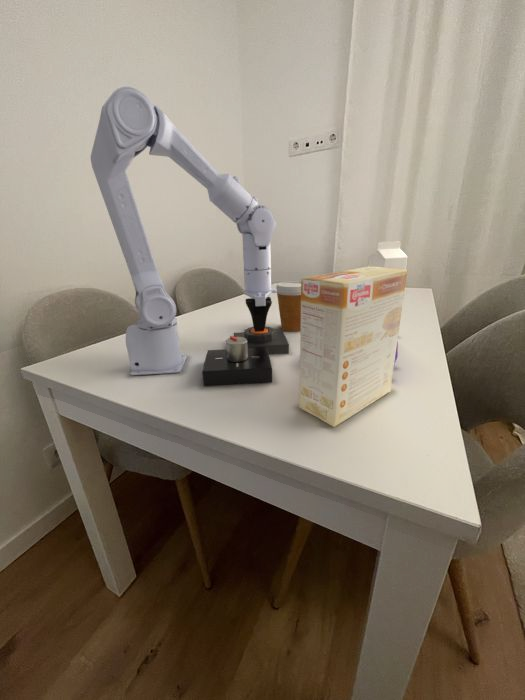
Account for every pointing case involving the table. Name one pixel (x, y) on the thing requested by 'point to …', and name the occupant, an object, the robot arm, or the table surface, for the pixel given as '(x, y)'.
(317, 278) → the coffeecake box
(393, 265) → the milk
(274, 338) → the button block
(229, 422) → the table surface
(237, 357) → the knob
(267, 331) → the button
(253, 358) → the dial panel
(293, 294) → the disposable coffee cup
